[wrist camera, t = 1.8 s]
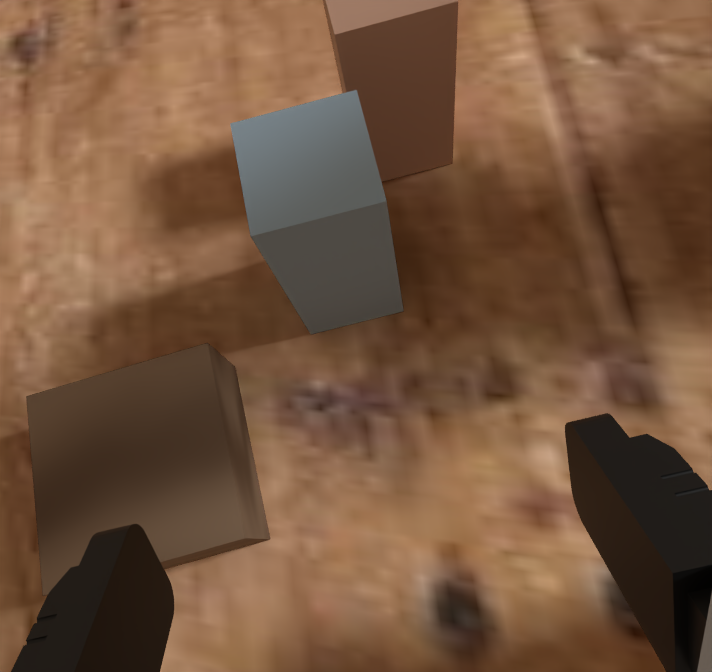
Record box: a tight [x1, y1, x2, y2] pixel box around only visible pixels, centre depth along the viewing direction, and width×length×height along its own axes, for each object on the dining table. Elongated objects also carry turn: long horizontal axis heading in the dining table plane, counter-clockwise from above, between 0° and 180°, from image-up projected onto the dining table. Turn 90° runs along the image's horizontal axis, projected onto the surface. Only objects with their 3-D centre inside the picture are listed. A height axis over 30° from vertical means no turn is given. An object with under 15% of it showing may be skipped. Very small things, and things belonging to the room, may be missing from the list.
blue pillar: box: [231, 90, 404, 334], centre depth 26 cm, size 4×4×10 cm
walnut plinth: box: [26, 343, 270, 596], centre depth 27 cm, size 8×8×4 cm
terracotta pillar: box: [323, 0, 458, 182], centre depth 28 cm, size 4×4×10 cm
